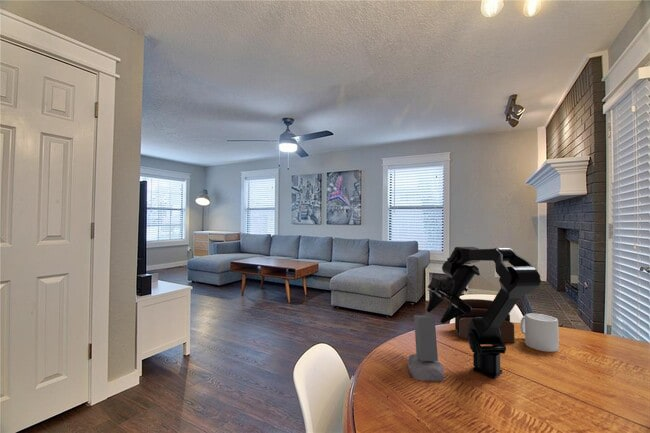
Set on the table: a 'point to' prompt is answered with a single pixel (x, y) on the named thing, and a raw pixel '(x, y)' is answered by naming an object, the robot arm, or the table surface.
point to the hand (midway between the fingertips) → (434, 316)
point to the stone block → (425, 369)
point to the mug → (540, 332)
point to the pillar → (425, 338)
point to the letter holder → (479, 310)
